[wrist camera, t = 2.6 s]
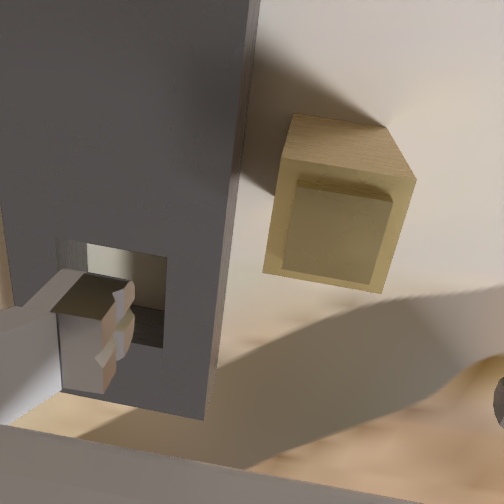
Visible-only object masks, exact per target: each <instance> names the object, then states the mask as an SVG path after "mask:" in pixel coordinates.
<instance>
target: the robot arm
mask: <svg viewBox="0 0 504 504" xmlns="http://www.w3.org/2000/svg"><path fill="white" fill-rule="evenodd" d="M134 299H135V285H134V283H133V281H131V280H126V279H121V278H116V277H110V276H105V275H100V274H95V273H90V272H88V273H87V272H85V271H79V270H73V269H67V268H66V269H61V270H60V271H59V272H58V273H57V274H55V275H54V276H53V277H52V278H51V279H50V280H49V281H48V282H47V283H46V284H45V285H44V286H43V287H42V288H41V289H40V290H39V291H38V292H37V293H36V294H35V295H34V296H33V297H32V298H31V299H30V300H29V301H28V302H27V303H26V304H25V305H24V306H23V307H18V306H14V307H11V308H8V309H5V310H1V311H0V504H423V503H418V502H413V501H407V500H402V499H396V498H391V497H386V496H380V495H375V494H370V493H364V492H359V491H354V490H348V489H343V488H337V487H332V486H327V485H321V484H316V483H311V482H305V481H300V480H295V479H289V478H284V477H278V476H273V475H268V474H262V473H257V472H252V471H246V470H240V469H236V468H230V467H225V466H220V465H214V464H209V463H204V462H198V461H193V460H187V459H182V458H177V457H172V456H167V455H161V454H156V453H151V452H145V451H140V450H135V449H129V448H124V447H118V446H114V445H108V444H103V443H97V442H92V441H87V440H82V439H76V438H71V437H66V436H60V435H55V434H50V433H45V432H39V431H34V430H29V429H23V428H18V427H13V426H7V425H8V424H10V423H12V422H13V421H15V420H16V419H18V418H19V417H21V416H22V415H24V414H25V413H27V412H29V411H30V410H32V409H33V408H35V407H36V406H38V405H39V404H41V403H43V402H44V401H46V400H47V399H49V398H50V397H52V396H53V395H55V394H56V393H58V392H60V391H61V390H62V388H67V389H73V390H80V391H86V392H92V393H99V394H104V392H105V391H106V389H107V387H108V385H109V383H110V382H111V380H112V378H113V376H114V375H115V373H116V361H118V360H120V359H122V358H124V357H125V355H126V353H127V351H128V349H129V346H130V343H131V340H132V337H133V331H134V323H135V315H134V314H133V312H132V311H131V309H130V308H129V307H130V306H131V304H132V302H133V301H134ZM493 407H494V412H495V416H496V418H497V420H498V423H499V425H500V426H502V427H503V428H504V377H503V378H501V379H500V380H499V382H498V385H497V387H496V389H495V391H494V401H493Z"/></svg>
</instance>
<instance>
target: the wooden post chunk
mask: <svg viewBox="0 0 504 504" xmlns="http://www.w3.org/2000/svg"><path fill="white" fill-rule="evenodd" d="M416 181H417V179H416V177H415V175H414V174H413V172H412V170H411V169H410V167H409V165H408V163H407V162H406V160H405V158H404V157H403V155H402V153H401V151H400V150H399V148H398V146H397V145H396V143H395V141H394V139H393V138H392V136H391V134H390V133H389V131H388V129H387V128H385V127H379V126H372V125H366V124H360V123H353V122H347V121H341V120H334V119H328V118H322V117H315V116H309V115H302V114H296V113H294V114H293V117H292V121H291V124H290V128H289V131H288V135H287V138H286V141H285V145H284V148H283V152H282V155H281V160H280V166H279V173H278V179H277V185H276V191H275V198H274V204H273V210H272V216H271V223H270V229H269V235H268V241H267V248H266V254H265V260H264V266H263V272H262V273H267V274H272V275H278V276H284V277H289V278H295V279H300V280H306V281H312V282H317V283H323V284H328V285H334V286H339V287H345V288H351V289H356V290H362V291H367V292H373V293H379V294H381V293H382V290H383V287H384V284H385V281H386V277H387V274H388V271H389V268H390V264H391V261H392V258H393V255H394V252H395V248H396V245H397V242H398V239H399V235H400V232H401V229H402V226H403V223H404V219H405V216H406V213H407V210H408V206H409V203H410V200H411V197H412V193H413V190H414V187H415V184H416Z"/></svg>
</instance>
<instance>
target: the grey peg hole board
mask: <svg viewBox="0 0 504 504" xmlns="http://www.w3.org/2000/svg"><path fill="white" fill-rule="evenodd" d="M259 8H260V0H0V205H1V212H2V219H3V226H4V233H5V240H6V247H7V254H8V261H9V269H10V276H11V283H12V290H13V297H14V304H15V306H18V307H23V306H24V305H25V304H26V303H27V302H28V301H29V300H30V299H31V298H32V297H33V296H34V295H35V294H36V293H37V292H38V291H39V290H40V289H41V288H42V287H43V286H44V285H45V284H46V283H47V282H48V281H49V280H50V279H51V278H52V277H53V276H54V275H55V274H57V273H58V272H59V271H60V270H61V269H66V268H67V269H73V270H79V271H85V272H87V273H88V265H87V245H86V243H89V244H95V245H101V246H106V247H112V248H117V249H123V250H128V251H134V252H140V253H145V254H151V255H156V256H162V257H167V272H166V294H165V311H160V310H155V309H150V308H144V307H139V306H133V305H131V306H130V307H129V308H130V309H131V311H132V312H133V314H134V315H135V323H134V331H133V337H132V340H131V343H130V346H129V349H128V351H127V353H126V355H125V357H124V358H122V359H120V360H118V361H116V373H115V375H114V376H113V378H112V380H111V382H110V383H109V385H108V387H107V389H106V391H105V392H104V394H99V393H92V392H86V391H80V390H73V389H67V388H62V390H61V391H60V392H63V393H68V394H73V395H78V396H83V397H88V398H93V399H98V400H103V401H108V402H113V403H118V404H123V405H128V406H133V407H138V408H143V409H148V410H153V411H158V412H163V413H168V414H173V415H178V416H183V417H188V418H193V419H198V420H204V417H205V414H206V410H207V407H208V404H209V400H210V397H211V393H212V390H213V386H214V382H215V376H216V368H217V360H218V352H219V343H220V335H221V326H222V318H223V310H224V301H225V293H226V285H227V276H228V268H229V259H230V251H231V243H232V234H233V226H234V217H235V209H236V201H237V192H238V184H239V175H240V167H241V159H242V150H243V142H244V134H245V125H246V117H247V108H248V100H249V92H250V83H251V75H252V66H253V58H254V50H255V41H256V33H257V25H258V16H259Z"/></svg>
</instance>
